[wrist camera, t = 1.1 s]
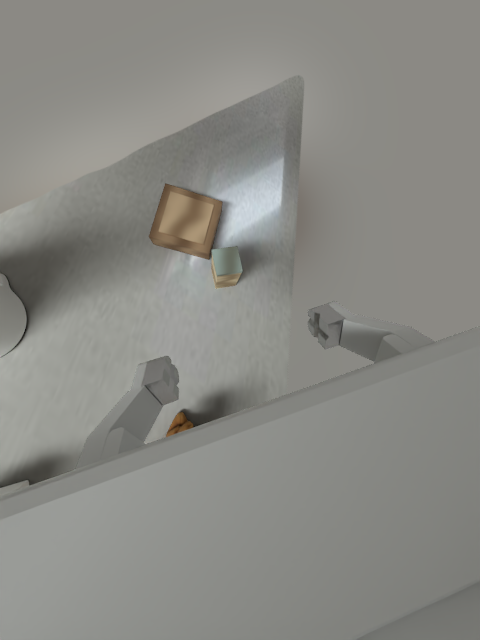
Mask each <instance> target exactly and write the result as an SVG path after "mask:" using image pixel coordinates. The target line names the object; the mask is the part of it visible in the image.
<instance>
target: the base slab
mask: <svg viewBox="0 0 480 640" xmlns="http://www.w3.org/2000/svg"><path fill="white" fill-rule="evenodd" d="M221 212H222V201H218V200H215V199H212V198H209V197H206V196H203V195H200V194H197V193H194V192H191V191H187V190H184V189H181V188H178V187H175V186H172V185H169V184H166V183H165V186H164V189H163V193H162V196H161V199H160V202H159V206H158V209H157V212H156V215H155V219H154V222H153V225H152V228H151V232H150V235H149V237H150V239H151V241H152V242H153V244H155V245H158V246H162V247H166V248H169V249H173V250H176V251H180V252H184V253H187V254H191V255H194V256H198V257H201V258H205V259H209V258H210V254H211V250H212V246H213V243H214V239H215V235H216V231H217V227H218V223H219V219H220V215H221Z"/></svg>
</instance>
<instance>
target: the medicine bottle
mask: <svg viewBox="0 0 480 640" xmlns="http://www.w3.org/2000/svg"><path fill="white" fill-rule="evenodd" d="M27 486H30V485H29V481H28V480H26V481H22V482H19V483H15V484H12V485H9V486H5V487H2V488H0V496H2V495H5V494H7V493H10V492H13V491H16V490H19V489H21V488H24V487H27Z"/></svg>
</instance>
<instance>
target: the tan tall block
mask: <svg viewBox="0 0 480 640" xmlns="http://www.w3.org/2000/svg"><path fill="white" fill-rule="evenodd" d="M242 272H243V270H242V265H241V261H240V256H239V252H238V247H237V246H235V247H227V248H220V249H212V274H213V278H214V283H215V288H216V289H217V288H223V287H229V286H235V285H236V283H237V281H238V279H239V277H240V275H241V273H242Z"/></svg>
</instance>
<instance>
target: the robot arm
mask: <svg viewBox="0 0 480 640" xmlns="http://www.w3.org/2000/svg"><path fill="white" fill-rule="evenodd" d="M308 316H309V317H310V319H309V321H308V327H309V331H310V332H311V334H312V335H313V336H314V337H317V338H318V342H319V343H320V344H321V345H322V347H323V348H324V349H328V348H331V347H334V346H338V345H340V346H341V347H343V348H346V349H348V350H350V351H352V352H355V353H357V354H359V355H361V356H363V357H365V358H367V359H369V360H372V361H374V364H371V365H368V366H366V367H363V368H360V369H357V370H354V371H351V372H349V373H346V374H343V375H340V376H337V377H335V378H332V379H329V380H326V381H323V382H320V383H318V384H315V385H312V386H309V387H307V388H304V389H301V390H298V391H296V392H293V393H290V394H287V395H284V396H281V397H278V398H275V399H273V400H270V401H267V402H264V403H261V404H258V405H256V406H253V407H250V408H247V409H244V410H242V411H239V412H236V413H233V414H230V415H227V416H225V417H222V418H219V419H216V420H213V421H210V422H208V423H205V424H202V425H199V426H196V427H194V428H191V429H188V430H185V431H182V432H179V433H177V434H174V435H171V436H168V437H165V438H162V439H160V440H157V441H154V442H151V443H148V444H144V443H143V442H144V441H145V439H146V437H147V435H148V433H149V431H150V429H151V428H152V426H153V424H154V422H155V420H156V418H157V416H158V415H159V413H160V411H161V409H162V407H163V405H165V404H168V403H171V402H173V401H176V400H178V397H179V388H178V387H177V384H178V382H179V374H178V371H177V368H176V367H175V365H172V364H171V359H170V358H169V356H164V357H160V358H157V359H154V360H150V361H148V362H144V363H141V364H139V365H138V366H137V369H136V372H135V376H134V380H133V383H132V387H131V390H130V391H127V393H126V394H125V395H124V396H123V397H122V398H121V400H120V401H119V402H118V403H117V404H116V405H115V407H114V408H113V409H112V410H111V411H110V412H109V413H108V415H107V416H106V417H105V418H104V419H103V420H102V422H101V423H100V424H99V425H98V426H97V427H96V428H95V430H94V431H93V432H92V433H91V434H90V435H89V437H88V438H87V440H86V443H85V445H84V448H83V450H82V453H81V456H80V458H79V461H78V463H77V466H76V468H75V470H72V471H69V472H67V473H64V474H61V475H58V476H55V477H52V478H50V479H47V480H44V481H41V482H38V483H36V484H33V485H30V486H27V487H24V488H21V489H19V490H16V491H13V492H10V493H7V494H5V495H2V496H0V640H480V326H479V327H476V328H473V329H470V330H467V331H464V332H461V333H459V334H456V335H453V336H450V337H447V338H445V339H442V340H439V341H436V342H435V341H433V340H432V339H430V338H428V337H427V336H425V335H423V334H422V333H420V332H419V331H417V330H415V329H414V328H412V327H410V326H405V325H401V324H397V323H392V322H388V321H383V320H379V319H375V318H370V317H366V316H361V315H354V314H353V313H351V312H350V311H349V310H347V309H346V308H344V307H343V306H342V305H340V304H339V303H337V302H336V301H332V302H330V303H327V304H324V305H321V306H318V307H315V308H312V309H310V310H309V311H308ZM26 322H27V316H26V311H25V308H24V305H23V303H22V302H21V300H20V299H19V298H18V297H17V295H16V294H15V293H14V292H13V291H12V290H11V289H10V286H9V283H8V280H7V278H6V276H5V275H4V274H1V273H0V357H1V356H3V355H5V354H6V353H8V352H9V351H10V350H12V349H13V348H14V347H15V346H16V345H17V343H18V342H19V341H20V339H21V338H22V336H23V334H24V331H25V328H26Z"/></svg>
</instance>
